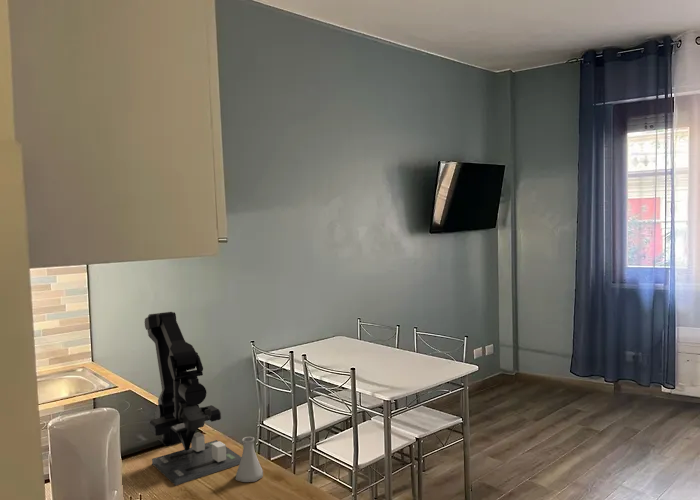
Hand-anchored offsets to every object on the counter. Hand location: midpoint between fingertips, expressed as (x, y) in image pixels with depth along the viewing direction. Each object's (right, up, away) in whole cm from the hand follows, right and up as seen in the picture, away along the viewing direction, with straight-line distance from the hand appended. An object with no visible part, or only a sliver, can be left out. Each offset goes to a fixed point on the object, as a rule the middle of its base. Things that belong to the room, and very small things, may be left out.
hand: (186, 449), depth 159 cm
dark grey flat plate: (+4, -3, -3) cm, 6 cm away
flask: (+19, -3, -11) cm, 23 cm away
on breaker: (+10, -1, -5) cm, 11 cm away
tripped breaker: (+3, 0, +2) cm, 3 cm away
